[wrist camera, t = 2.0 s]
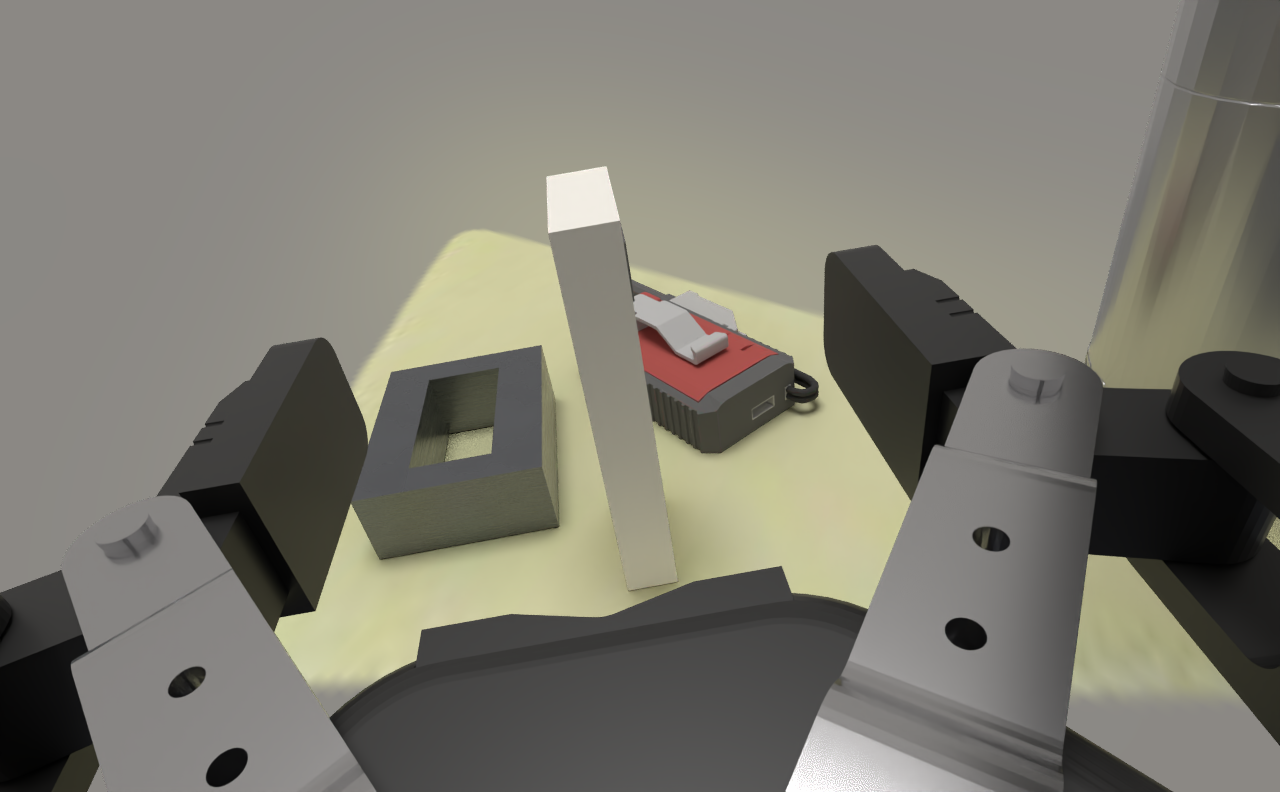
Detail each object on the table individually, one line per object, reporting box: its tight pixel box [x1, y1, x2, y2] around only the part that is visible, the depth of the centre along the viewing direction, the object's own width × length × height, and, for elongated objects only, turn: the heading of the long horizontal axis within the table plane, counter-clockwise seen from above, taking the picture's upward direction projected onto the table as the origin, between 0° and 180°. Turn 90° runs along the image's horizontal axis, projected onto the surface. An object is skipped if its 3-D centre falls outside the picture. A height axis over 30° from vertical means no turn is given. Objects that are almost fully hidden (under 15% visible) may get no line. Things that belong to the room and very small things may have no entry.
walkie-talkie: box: [631, 280, 819, 453], centre depth 41 cm, size 9×4×20 cm
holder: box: [351, 345, 559, 559], centre depth 35 cm, size 10×8×4 cm
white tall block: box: [547, 166, 678, 591], centre depth 26 cm, size 5×2×15 cm, turn 7°
